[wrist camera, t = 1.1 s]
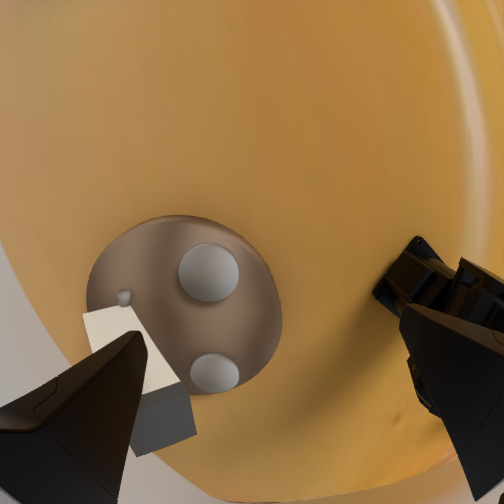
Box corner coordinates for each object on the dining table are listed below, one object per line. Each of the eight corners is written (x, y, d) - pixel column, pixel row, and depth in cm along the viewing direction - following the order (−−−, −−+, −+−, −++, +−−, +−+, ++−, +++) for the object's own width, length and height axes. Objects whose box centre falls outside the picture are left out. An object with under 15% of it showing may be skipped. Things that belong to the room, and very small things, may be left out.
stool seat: (283, 215, 20) (292, 227, 17) (272, 377, 25) (276, 404, 21) (87, 217, 19) (63, 229, 16) (119, 369, 24) (108, 392, 21)
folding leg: (128, 302, 19) (188, 391, 11) (137, 343, 20) (196, 434, 12) (82, 313, 17) (115, 416, 9) (94, 354, 18) (136, 457, 10)
